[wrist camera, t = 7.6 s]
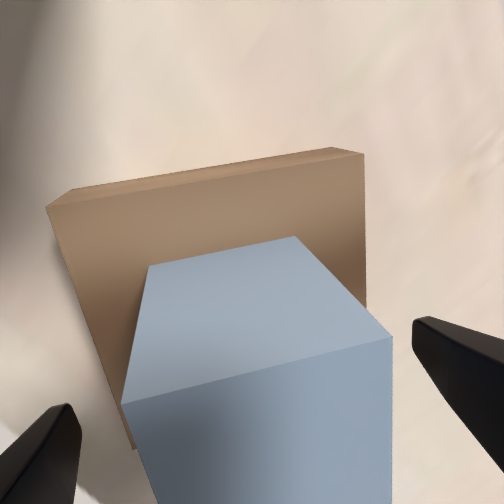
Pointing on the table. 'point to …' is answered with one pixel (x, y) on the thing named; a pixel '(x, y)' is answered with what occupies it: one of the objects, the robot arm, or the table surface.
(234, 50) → the table surface
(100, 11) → the table surface
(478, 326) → the table surface
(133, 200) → the walnut block
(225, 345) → the slate block
